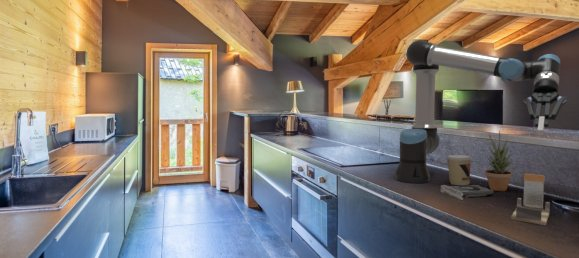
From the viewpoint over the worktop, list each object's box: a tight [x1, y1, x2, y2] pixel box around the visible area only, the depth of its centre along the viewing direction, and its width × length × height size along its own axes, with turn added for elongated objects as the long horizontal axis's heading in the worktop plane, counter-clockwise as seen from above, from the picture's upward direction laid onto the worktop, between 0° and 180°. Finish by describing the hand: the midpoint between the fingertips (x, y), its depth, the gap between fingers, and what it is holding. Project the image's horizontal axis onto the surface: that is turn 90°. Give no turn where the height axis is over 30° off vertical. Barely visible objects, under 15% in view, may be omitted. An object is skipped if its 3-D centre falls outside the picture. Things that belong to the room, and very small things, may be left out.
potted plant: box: [484, 129, 513, 192], centre depth 139 cm, size 10×10×25 cm
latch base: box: [510, 197, 551, 226], centre depth 106 cm, size 14×8×4 cm, turn 139°
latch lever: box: [522, 173, 546, 210], centre depth 110 cm, size 2×5×11 cm, turn 49°
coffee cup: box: [446, 154, 472, 186], centre depth 150 cm, size 9×9×12 cm
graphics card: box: [440, 184, 494, 201], centre depth 132 cm, size 17×4×12 cm
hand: (540, 132), depth 118 cm, fingers closed
